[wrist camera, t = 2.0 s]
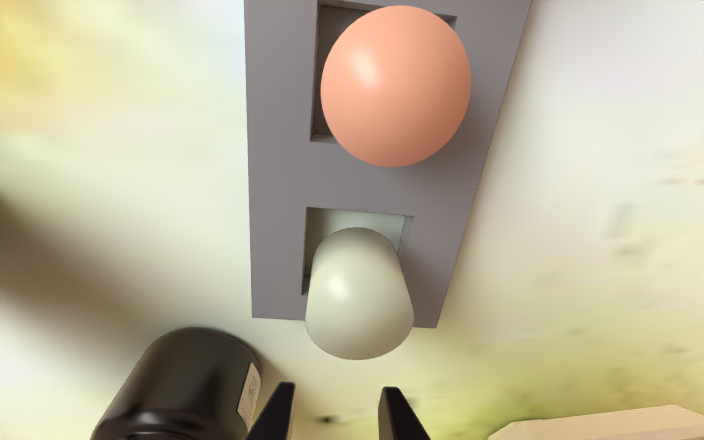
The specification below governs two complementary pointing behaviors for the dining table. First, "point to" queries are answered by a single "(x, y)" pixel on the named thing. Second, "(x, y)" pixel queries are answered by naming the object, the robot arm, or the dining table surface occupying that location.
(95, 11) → the dining table surface
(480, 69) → the button panel
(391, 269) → the sage button
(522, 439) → the dish with food
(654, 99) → the dining table surface
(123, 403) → the ink bottle
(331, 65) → the terracotta button
